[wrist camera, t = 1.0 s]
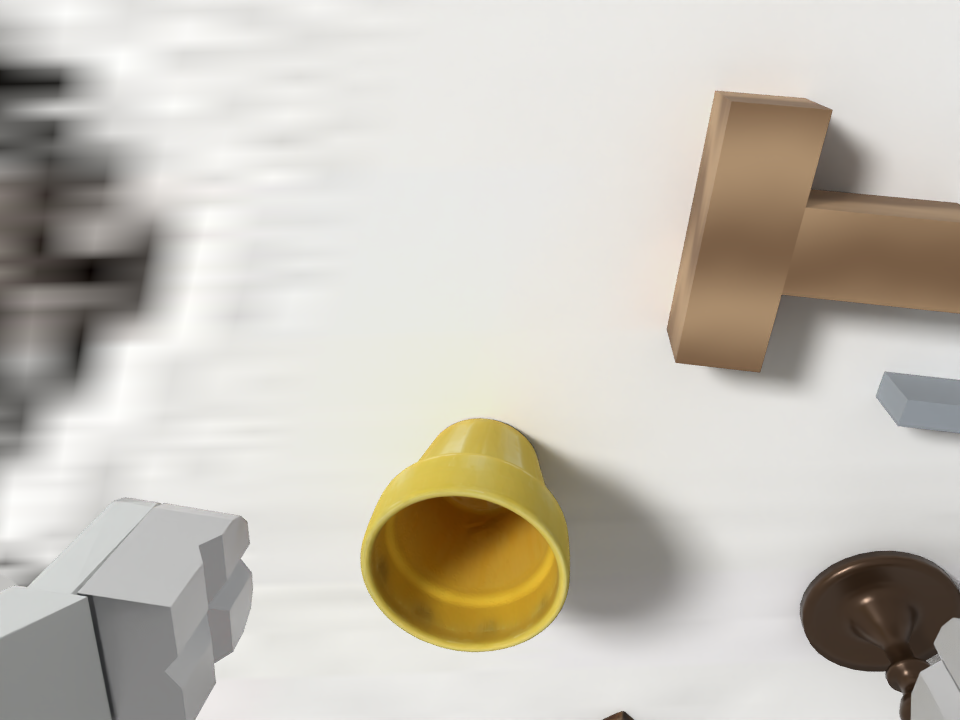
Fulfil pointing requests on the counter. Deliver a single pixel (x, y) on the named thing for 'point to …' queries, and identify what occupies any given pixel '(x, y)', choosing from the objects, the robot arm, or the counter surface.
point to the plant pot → (469, 542)
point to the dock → (921, 401)
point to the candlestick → (880, 615)
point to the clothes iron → (619, 716)
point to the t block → (794, 236)
